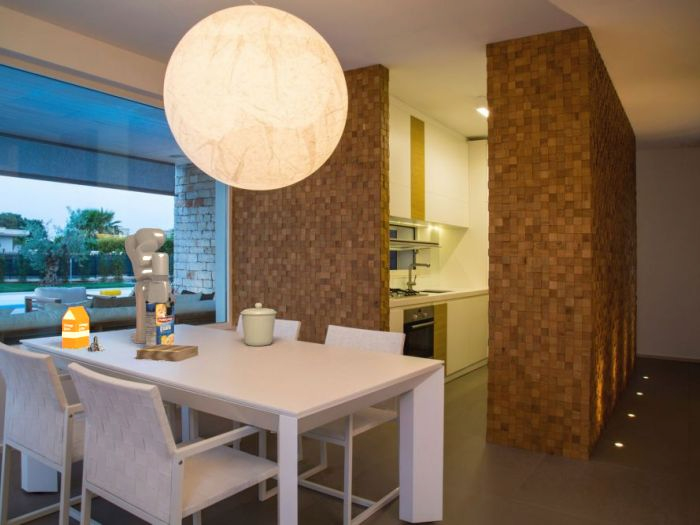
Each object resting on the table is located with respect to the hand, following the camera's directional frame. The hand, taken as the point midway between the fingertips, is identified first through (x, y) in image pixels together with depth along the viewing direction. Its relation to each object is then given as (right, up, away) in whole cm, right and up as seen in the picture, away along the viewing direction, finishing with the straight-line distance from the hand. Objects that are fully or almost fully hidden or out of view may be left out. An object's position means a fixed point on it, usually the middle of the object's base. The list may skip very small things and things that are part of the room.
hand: (160, 315), depth 258 cm
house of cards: (-29, -17, -8) cm, 35 cm away
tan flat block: (+10, -17, -19) cm, 27 cm away
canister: (+44, -17, +16) cm, 49 cm away
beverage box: (0, -17, 0) cm, 17 cm away
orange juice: (-41, -17, +2) cm, 44 cm away
